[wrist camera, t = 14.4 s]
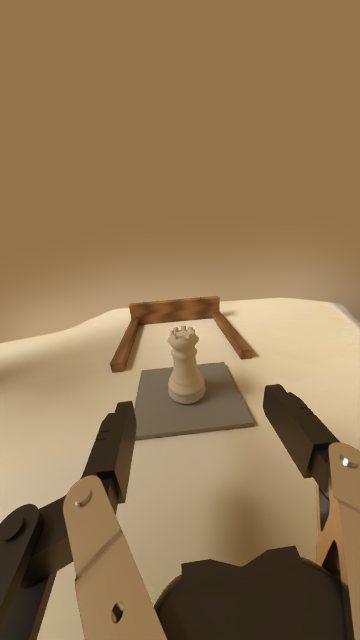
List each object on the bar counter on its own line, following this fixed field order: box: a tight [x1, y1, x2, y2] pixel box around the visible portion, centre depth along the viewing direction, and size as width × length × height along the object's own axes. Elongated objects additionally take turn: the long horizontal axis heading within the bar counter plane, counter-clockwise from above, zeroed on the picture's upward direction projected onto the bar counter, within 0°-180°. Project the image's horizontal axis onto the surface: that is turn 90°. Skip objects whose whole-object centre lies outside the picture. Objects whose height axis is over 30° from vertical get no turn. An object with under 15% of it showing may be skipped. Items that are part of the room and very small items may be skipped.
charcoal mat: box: [134, 362, 255, 440], centre depth 22 cm, size 12×10×1 cm
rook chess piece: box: [168, 326, 205, 404], centre depth 20 cm, size 4×4×8 cm
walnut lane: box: [110, 296, 252, 372], centre depth 36 cm, size 21×20×5 cm
